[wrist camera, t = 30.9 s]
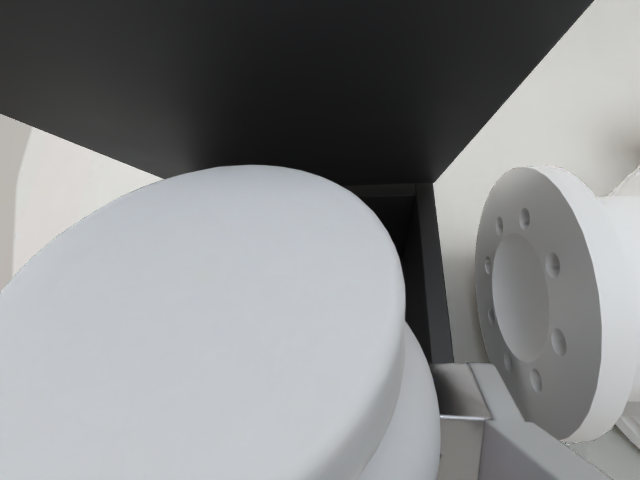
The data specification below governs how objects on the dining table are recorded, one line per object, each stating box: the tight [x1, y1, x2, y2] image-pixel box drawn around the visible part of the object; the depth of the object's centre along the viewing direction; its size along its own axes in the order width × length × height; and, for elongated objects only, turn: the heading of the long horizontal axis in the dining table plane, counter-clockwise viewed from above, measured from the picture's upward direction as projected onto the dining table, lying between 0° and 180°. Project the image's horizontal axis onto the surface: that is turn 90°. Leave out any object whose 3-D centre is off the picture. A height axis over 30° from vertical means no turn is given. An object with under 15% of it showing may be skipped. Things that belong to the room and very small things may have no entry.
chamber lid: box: [0, 0, 594, 186], centre depth 10 cm, size 14×12×5 cm
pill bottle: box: [0, 165, 441, 480], centre depth 8 cm, size 6×6×11 cm
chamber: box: [342, 183, 454, 363], centre depth 18 cm, size 14×12×8 cm
